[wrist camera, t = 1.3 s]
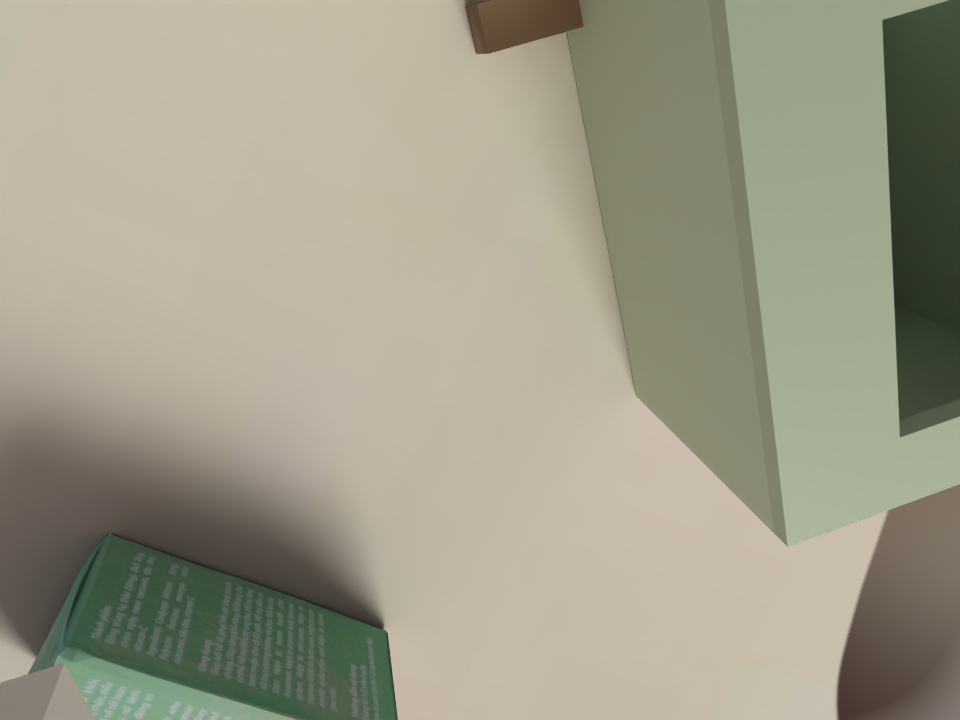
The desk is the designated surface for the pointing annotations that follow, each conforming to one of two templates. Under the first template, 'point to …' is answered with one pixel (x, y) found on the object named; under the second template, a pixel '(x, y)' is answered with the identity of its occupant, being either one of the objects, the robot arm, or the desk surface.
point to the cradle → (520, 22)
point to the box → (210, 646)
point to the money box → (786, 239)
